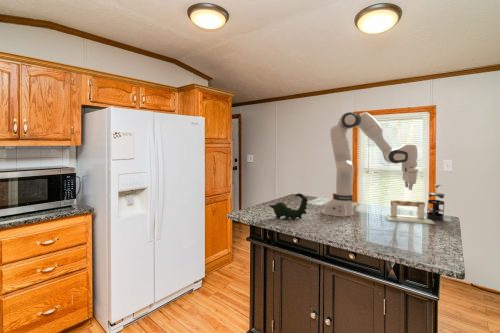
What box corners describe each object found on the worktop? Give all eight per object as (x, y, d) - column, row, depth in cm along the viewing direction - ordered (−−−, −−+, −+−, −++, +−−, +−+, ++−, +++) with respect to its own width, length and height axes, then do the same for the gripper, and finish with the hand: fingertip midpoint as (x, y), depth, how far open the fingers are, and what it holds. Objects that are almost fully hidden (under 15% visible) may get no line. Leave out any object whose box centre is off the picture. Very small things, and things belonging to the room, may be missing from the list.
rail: (391, 205, 183) (391, 200, 183) (390, 204, 186) (390, 199, 185) (424, 207, 177) (425, 202, 176) (423, 206, 180) (423, 201, 179)
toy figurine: (304, 219, 183) (269, 215, 187) (307, 193, 181) (271, 188, 185) (305, 224, 174) (267, 219, 178) (308, 195, 172) (270, 191, 176)
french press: (442, 222, 170) (444, 186, 168) (424, 219, 177) (426, 185, 174) (445, 218, 179) (447, 184, 176) (428, 215, 185) (430, 182, 183)
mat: (389, 220, 174) (389, 219, 174) (386, 217, 181) (386, 216, 181) (435, 224, 166) (435, 223, 166) (431, 220, 173) (431, 219, 173)
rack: (389, 216, 183) (390, 202, 182) (388, 214, 188) (388, 200, 187) (426, 219, 176) (427, 204, 175) (424, 217, 181) (424, 202, 180)
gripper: (400, 166, 189) (399, 185, 191) (407, 169, 170) (406, 191, 171) (410, 166, 187) (409, 186, 189) (418, 170, 168) (418, 191, 170)
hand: (408, 188), depth 180 cm, fingers open, 8 cm apart
